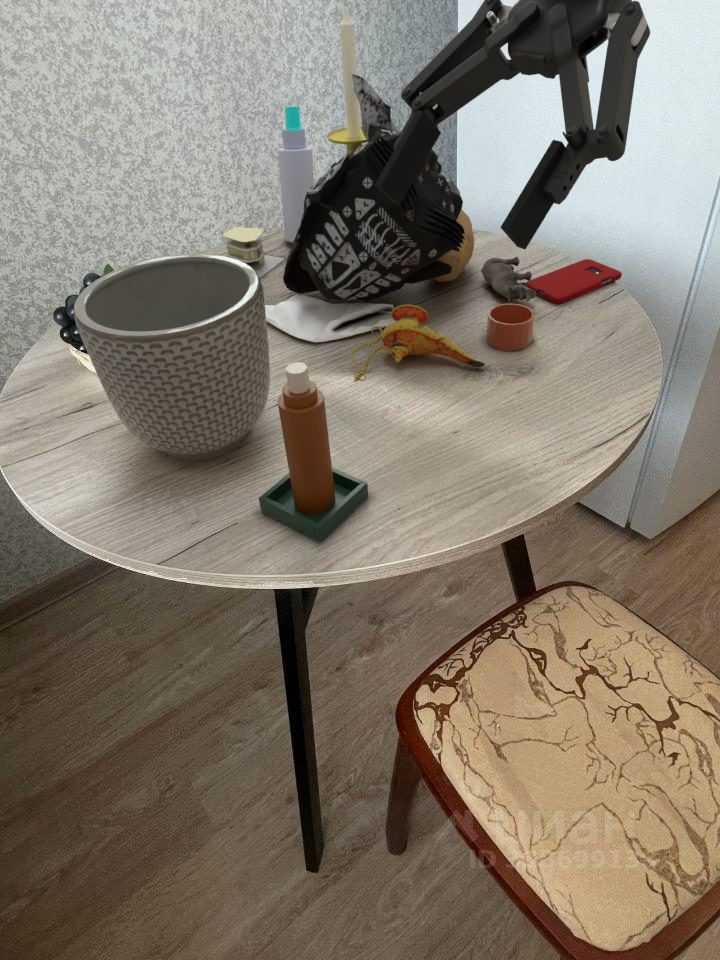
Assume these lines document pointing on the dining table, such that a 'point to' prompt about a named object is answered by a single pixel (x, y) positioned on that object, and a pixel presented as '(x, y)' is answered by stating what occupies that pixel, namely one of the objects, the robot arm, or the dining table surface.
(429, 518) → the dining table surface
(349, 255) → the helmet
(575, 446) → the dining table surface
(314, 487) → the bottle
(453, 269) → the potato
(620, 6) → the robot arm
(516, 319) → the terracotta round cup
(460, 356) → the magic lamp
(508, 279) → the rhino figurine
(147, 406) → the planter
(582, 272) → the cell phone
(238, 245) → the stacked layers on plate
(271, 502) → the tray
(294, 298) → the cloth
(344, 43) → the candle
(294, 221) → the spray bottle
